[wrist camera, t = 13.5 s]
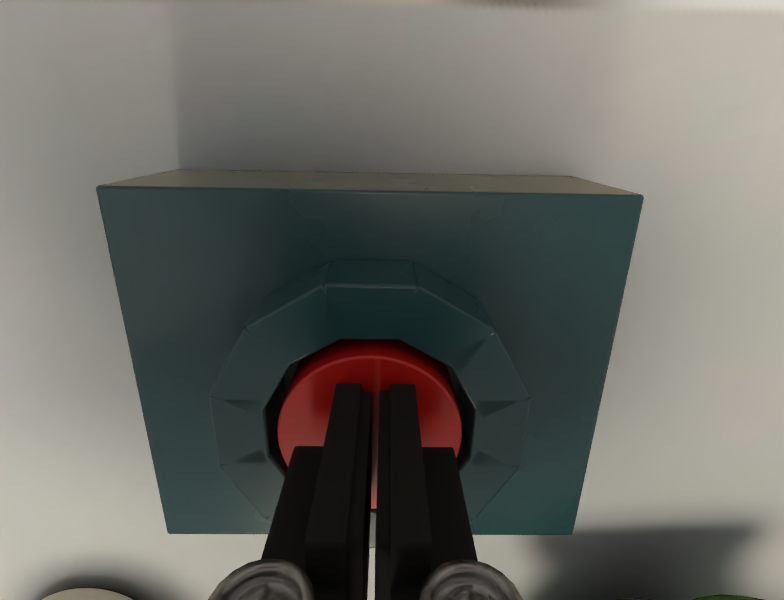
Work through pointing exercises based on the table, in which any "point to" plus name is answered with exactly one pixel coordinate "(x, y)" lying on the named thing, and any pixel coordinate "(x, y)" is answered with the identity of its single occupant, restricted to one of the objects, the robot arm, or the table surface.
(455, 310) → the button base
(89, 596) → the cup
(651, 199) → the table surface
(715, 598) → the piggy bank
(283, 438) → the red push button
